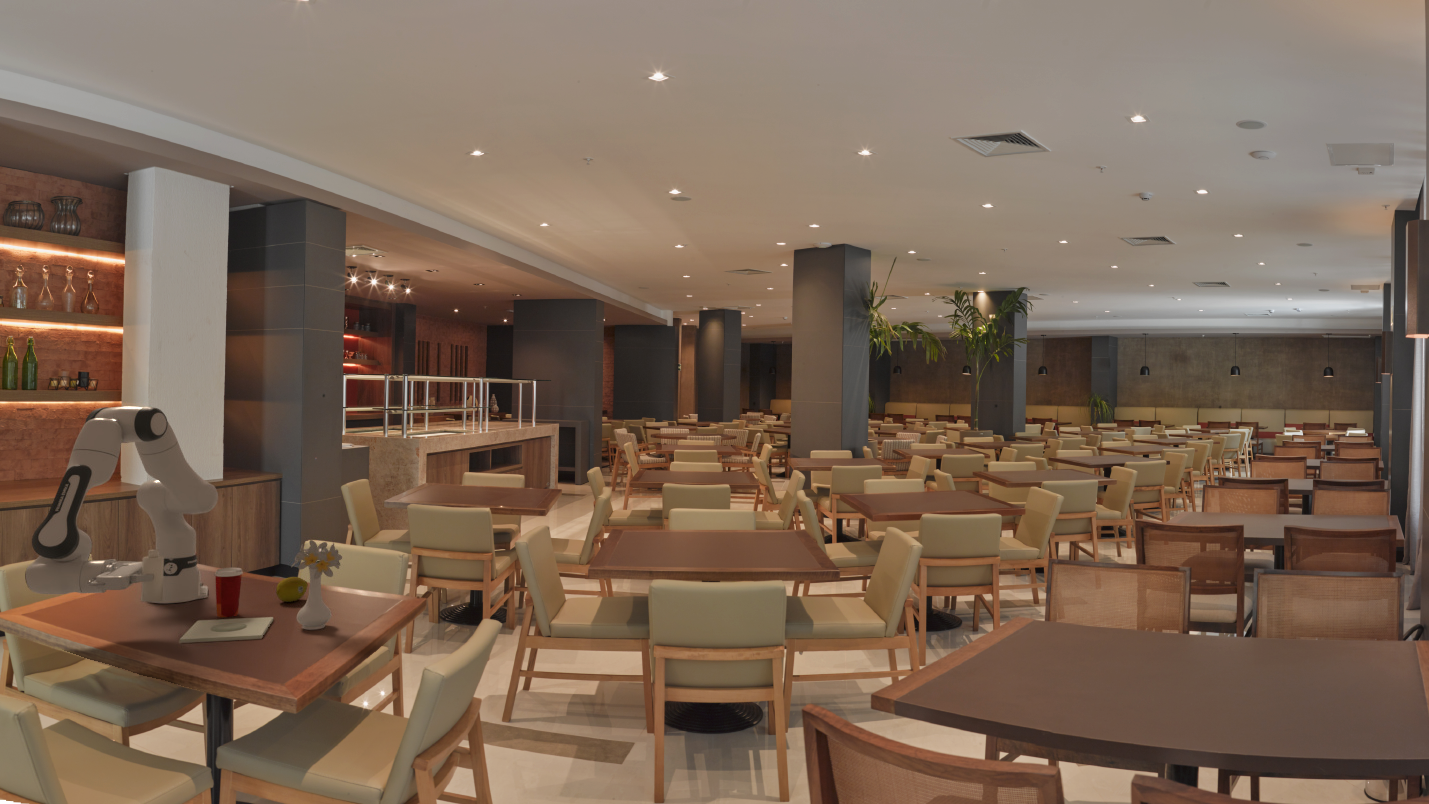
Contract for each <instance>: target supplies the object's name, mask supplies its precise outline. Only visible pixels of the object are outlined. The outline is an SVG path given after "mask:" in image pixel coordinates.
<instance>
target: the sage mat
mask: <svg viewBox="0 0 1429 804" xmlns="http://www.w3.org/2000/svg"><path fill="white" fill-rule="evenodd" d="M273 621H274V617H273V616H267V617H266V616H265V617H245V618H243V617H242V618H241V617H240V618H224V619H220V618H219V619H201V620H200V619H199V620H197V621H196V622H194V624H193V625H192V626H191V627H190V628H189V629H188V630H187V631H186V632H185V633H184V634H183V635H182V636H181V637H180V638H179V644H186V643H187V644H189V643H205V642H225V641H238V640H239V641H243V640H261V639H262V638H263V637H264V636H263V635H265V634H266V632H267V631H268V629H269V628H270V627H271V625H270V624H272V623H273ZM268 627H269V628H268Z"/></svg>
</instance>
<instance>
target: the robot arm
mask: <svg viewBox="0 0 1429 804" xmlns="http://www.w3.org/2000/svg"><path fill="white" fill-rule="evenodd" d="M129 443H134V444H135V448H136V451H137V453H138V456H139V458H140V461H141V463H142V465H143V467H144V471H145V472H146V473H147V475H148V476H149V477H152V478H153V480H151V479H150V480H146V481H144V482H143V483H142V484H141V485H140V486H139V487H138V489H137V492H136V502H137V504H138V506H139V507H140V508H141V509H142V510H143V511H145V513H146V514H147V515H148V517H149V518H150V520H151V523H152V526H153V529H154V532H155V549H158V550H159V555H158V556H164V571H163V599H162V600H161V601H156V602H151V603H152V604H175V603H176V604H177V603H184V602H190V601H194V600H200V599H201V600H202V599H206V598H208V596H209V595H208V594H209V593H208V592H209V586H208V585H204V582H201V581H202V578H201V577H202V573H201V571H200V569H199V568H198V566H197V565H198V554H197V552H196V547H197V546H196V545H197V533H196V532H197V531H196V529H195V528H194V527H193V526H191V525H190V524H189V523H188V522H187V521H186V519H185V517H184V515H199V514H205V513H209V512H210V511H213V509H215V507H216V505H217V503H218V500H219V494H218V490H217V488H216V486H215V485H214V484H212V483H210V482H208V481H206V480H205V479H204V478H202V476H200V475H199V474H198V473H197V472H196V471H195V470H194V469H193V467H191V466H190V464H189V463H188V461H187V459H186V458H185V456H184V453H183V451H182V448H181V446H180V443H179V440H178V438H177V437H176V433H175V432H174V429H173V428H172V426H171V425H170V422H169V421H168V418H167V416H166V414H165V413H164V412H163V410H162V409H159V408H156V407H153V406H150V405H149V406H148V405H147V406H137V405H123V406H115V407H114V406H113V407H108V406H107V407H100V408H96V409H94V410H92V411H91V412H90V413H89V414H88V415H87V417H86V418H85V421H84V424H83V427H82V428H81V429H80V431H79V433H78V435H77V438H76V439H75V442H74V444H73V448H72V450H71V454H70V458H69V461H68V464H67V466H66V470H65V473H64V474H63V477H62V479H61V481H60V484H59V486H58V489H57V491H56V494H55V496H54V499H53V501H52V504H51V506H50V508H49V511H48V513H47V515H46V517H45V518H44V520H43V521H42V522H41V523H40V524H39V526H38V527H36V529H35V531H34V532H33V535H32V536H31V545H32V548H33V550H34V551H35V553H36V554H37V555H39V556H38V557H37V558H36V559H35V560H34V561H33V562H32V563H31V564H29V565H27V566H26V570H25V572H24V574H25V575H24V578H25V579H24V580H25V583H26V585H27V588H28V589H29V590H30V591H31V592H33V593H35V594H40V595H67V594H71V593H79V594H102V593H103V594H104V593H105V592H107V591H122V590H126V589H128V588H129V587H131V586H132V585H134V584H139V583H142V582H145V581H152V580H153V579H154V574H145V575H142V561H133V560H132V561H128V560H127V561H126V560H124V561H123V560H122V561H121V560H118V561H117V559H115V558H113V559H102V560H99V559H98V560H97V559H96V560H95V559H94V560H89V558H90V555H91V553H92V551H93V550H92V549H93V540H92V538H91V536H90V535H89V534H88V533H87V532H85V531H83V530H82V529H81V528H79V527H78V523H77V522H78V517H79V515H80V514H79V513H80V511H81V508H82V505H83V503H84V500H85V497H86V496H87V494H88V493H89V491H90V490H91V489H92V488H94V487H98V486H101V485H103V484H105V483H107V482H108V481H110V480H111V477H112V476H113V474H114V472H115V470H116V467H117V465H118V461H119V456H120V453H121V449H122V448H121V447H122V444H129Z"/></svg>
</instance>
